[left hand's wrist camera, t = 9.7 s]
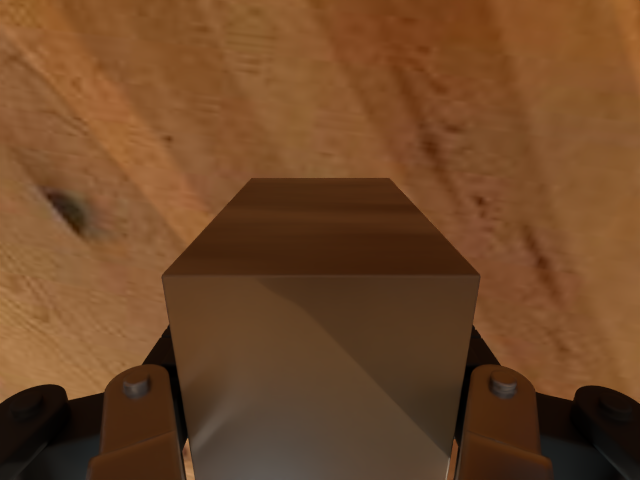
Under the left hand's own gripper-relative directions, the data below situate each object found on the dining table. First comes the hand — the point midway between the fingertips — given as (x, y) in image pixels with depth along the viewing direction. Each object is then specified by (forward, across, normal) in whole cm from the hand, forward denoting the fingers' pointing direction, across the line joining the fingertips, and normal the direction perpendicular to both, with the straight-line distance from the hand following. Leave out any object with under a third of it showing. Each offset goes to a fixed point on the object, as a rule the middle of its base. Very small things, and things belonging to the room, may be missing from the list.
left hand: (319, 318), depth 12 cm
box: (+5, 0, +7) cm, 9 cm away
